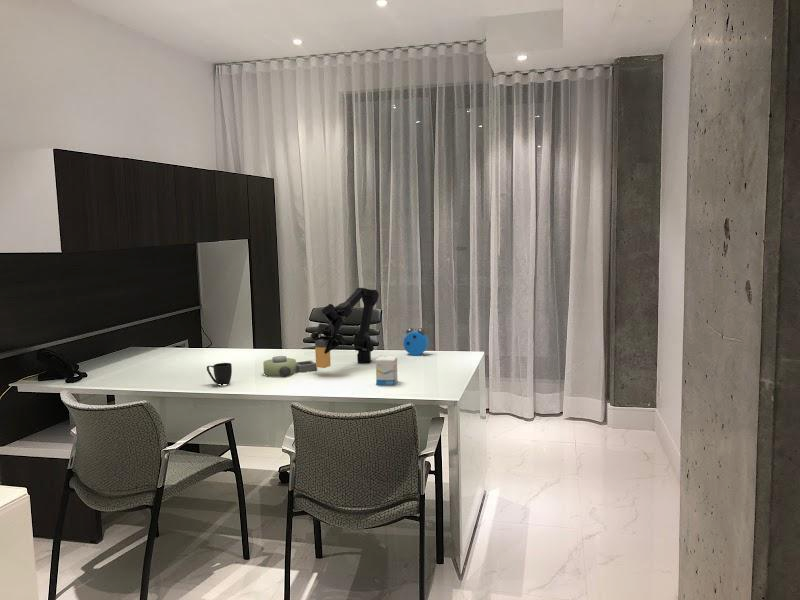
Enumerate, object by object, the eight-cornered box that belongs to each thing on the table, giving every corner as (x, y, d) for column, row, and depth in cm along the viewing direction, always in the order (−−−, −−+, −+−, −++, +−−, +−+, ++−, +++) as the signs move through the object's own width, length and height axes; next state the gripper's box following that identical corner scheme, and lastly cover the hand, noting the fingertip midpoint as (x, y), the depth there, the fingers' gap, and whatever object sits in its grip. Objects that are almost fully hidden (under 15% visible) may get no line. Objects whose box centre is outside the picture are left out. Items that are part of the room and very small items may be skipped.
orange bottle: (322, 365, 320) (321, 339, 319) (330, 366, 317) (329, 339, 316) (316, 367, 316) (314, 340, 315) (324, 368, 313) (322, 341, 312)
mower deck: (308, 365, 342) (307, 350, 341) (320, 372, 324) (319, 356, 323) (259, 371, 330) (258, 355, 330) (269, 379, 313) (268, 362, 312)
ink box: (394, 385, 293) (393, 360, 291) (376, 385, 294) (375, 359, 293) (398, 381, 301) (397, 356, 300) (380, 380, 303) (379, 356, 302)
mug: (213, 381, 311) (211, 362, 310) (235, 382, 308) (234, 362, 307) (203, 386, 303) (202, 366, 302) (227, 386, 300) (225, 366, 299)
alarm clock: (429, 353, 362) (428, 327, 360) (426, 356, 356) (425, 329, 354) (406, 353, 366) (405, 327, 364) (403, 355, 360) (402, 328, 358)
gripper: (312, 316, 322) (297, 341, 315) (341, 318, 312) (327, 344, 304) (323, 329, 330) (309, 354, 322) (352, 331, 319) (338, 358, 312)
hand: (320, 352), depth 315 cm, fingers closed on orange bottle, 5 cm apart
